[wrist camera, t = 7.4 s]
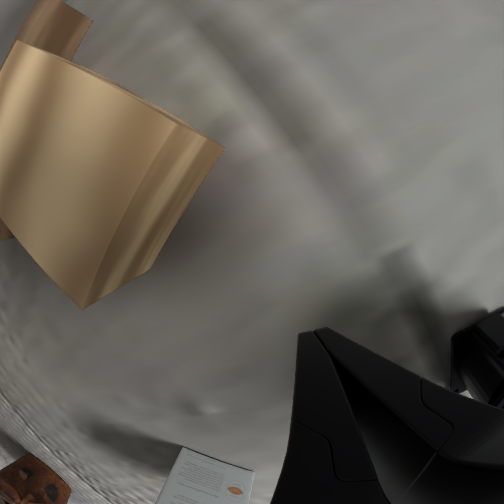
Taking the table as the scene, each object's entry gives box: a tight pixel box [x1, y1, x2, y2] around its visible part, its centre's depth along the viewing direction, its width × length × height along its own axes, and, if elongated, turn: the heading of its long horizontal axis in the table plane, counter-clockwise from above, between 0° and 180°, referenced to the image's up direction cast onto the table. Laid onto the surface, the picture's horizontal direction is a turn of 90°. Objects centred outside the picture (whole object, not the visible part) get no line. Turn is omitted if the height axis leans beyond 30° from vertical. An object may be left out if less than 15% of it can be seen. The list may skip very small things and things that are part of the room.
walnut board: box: [0, 0, 93, 240], centre depth 17 cm, size 2×22×6 cm, turn 154°
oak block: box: [0, 40, 225, 310], centre depth 15 cm, size 16×10×8 cm, turn 55°
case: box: [0, 454, 72, 504], centre depth 28 cm, size 18×20×18 cm
